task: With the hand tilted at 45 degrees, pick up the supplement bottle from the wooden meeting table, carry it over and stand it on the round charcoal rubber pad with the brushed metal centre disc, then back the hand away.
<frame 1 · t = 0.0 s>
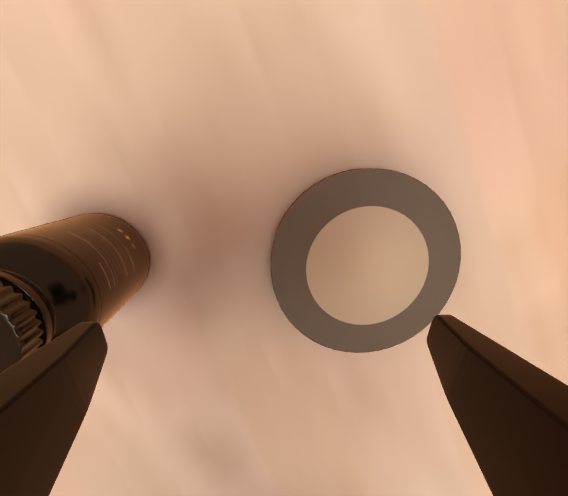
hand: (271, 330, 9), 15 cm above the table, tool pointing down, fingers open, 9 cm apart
hub pad: (361, 261, 25), on the table
supplement bottle: (107, 256, 24), on the table
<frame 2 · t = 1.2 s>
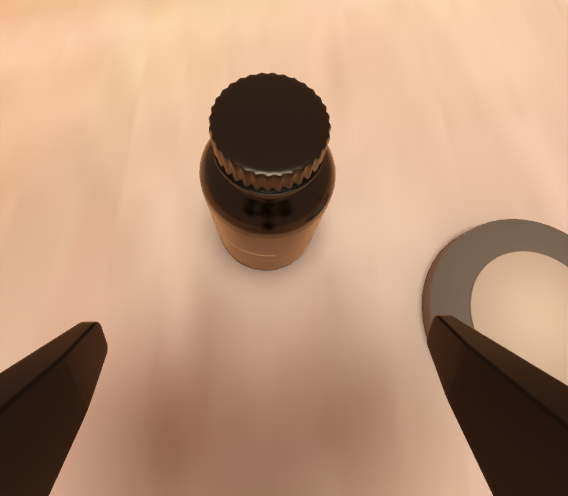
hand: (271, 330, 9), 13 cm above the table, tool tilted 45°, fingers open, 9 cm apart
hub pad: (518, 318, 23), on the table
supplement bottle: (267, 228, 24), on the table
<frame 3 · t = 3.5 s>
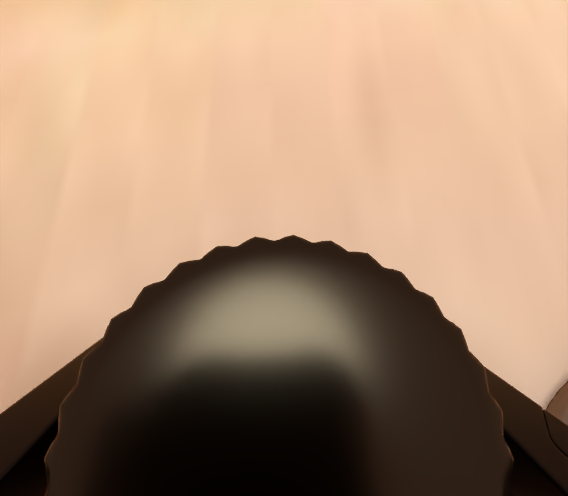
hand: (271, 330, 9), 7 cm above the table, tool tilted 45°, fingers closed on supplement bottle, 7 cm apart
supplement bottle: (268, 366, 15), on the table, touching gripper
when the fingers open (9 cm above the table, at t = 7.8 s): supplement bottle stays where it is, resting on hub pad.
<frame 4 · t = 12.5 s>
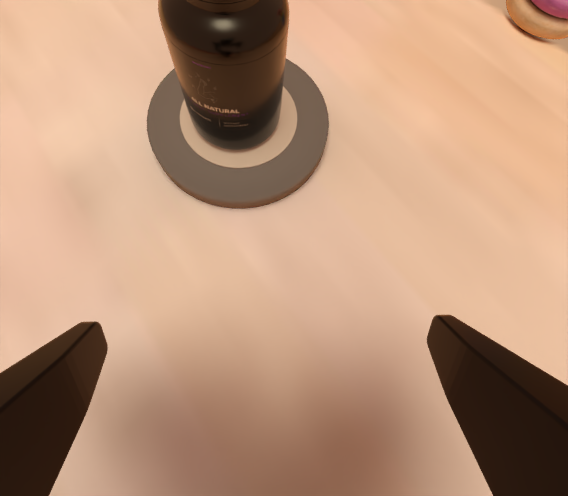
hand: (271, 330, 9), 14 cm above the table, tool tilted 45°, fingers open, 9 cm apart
stacking toy: (539, 15, 32), on the table
hub pad: (240, 129, 26), on the table
supplement bottle: (237, 117, 25), point 2 cm above the table, touching hub pad
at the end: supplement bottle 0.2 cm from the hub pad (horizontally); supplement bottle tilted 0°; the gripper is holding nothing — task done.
